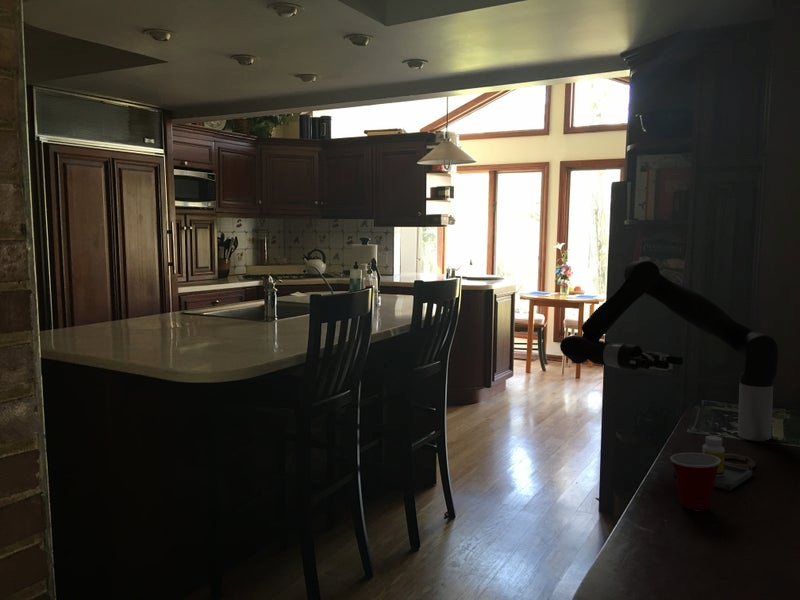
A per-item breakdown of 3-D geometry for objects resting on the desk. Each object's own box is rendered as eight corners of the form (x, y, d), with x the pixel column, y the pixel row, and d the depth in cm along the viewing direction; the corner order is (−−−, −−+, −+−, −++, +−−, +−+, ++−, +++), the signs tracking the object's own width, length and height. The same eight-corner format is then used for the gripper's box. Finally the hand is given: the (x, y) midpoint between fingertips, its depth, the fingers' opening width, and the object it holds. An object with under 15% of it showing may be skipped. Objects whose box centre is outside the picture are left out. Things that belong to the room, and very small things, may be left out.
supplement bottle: (727, 477, 166) (729, 441, 165) (707, 477, 166) (708, 441, 165) (718, 470, 171) (719, 434, 170) (697, 470, 171) (698, 434, 171)
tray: (698, 462, 179) (698, 457, 179) (752, 475, 168) (752, 470, 168) (674, 476, 169) (674, 470, 169) (729, 491, 158) (729, 485, 158)
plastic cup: (679, 493, 157) (681, 446, 156) (726, 506, 150) (728, 456, 149) (661, 507, 150) (662, 457, 149) (709, 520, 142) (710, 468, 141)
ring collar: (723, 455, 185) (723, 451, 184) (759, 463, 177) (759, 459, 177) (709, 463, 178) (709, 459, 178) (745, 472, 171) (745, 467, 171)
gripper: (610, 346, 186) (664, 353, 174) (634, 341, 196) (687, 347, 183) (609, 371, 187) (663, 380, 175) (634, 365, 196) (686, 372, 184)
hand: (675, 363), depth 179 cm, fingers open, 8 cm apart
